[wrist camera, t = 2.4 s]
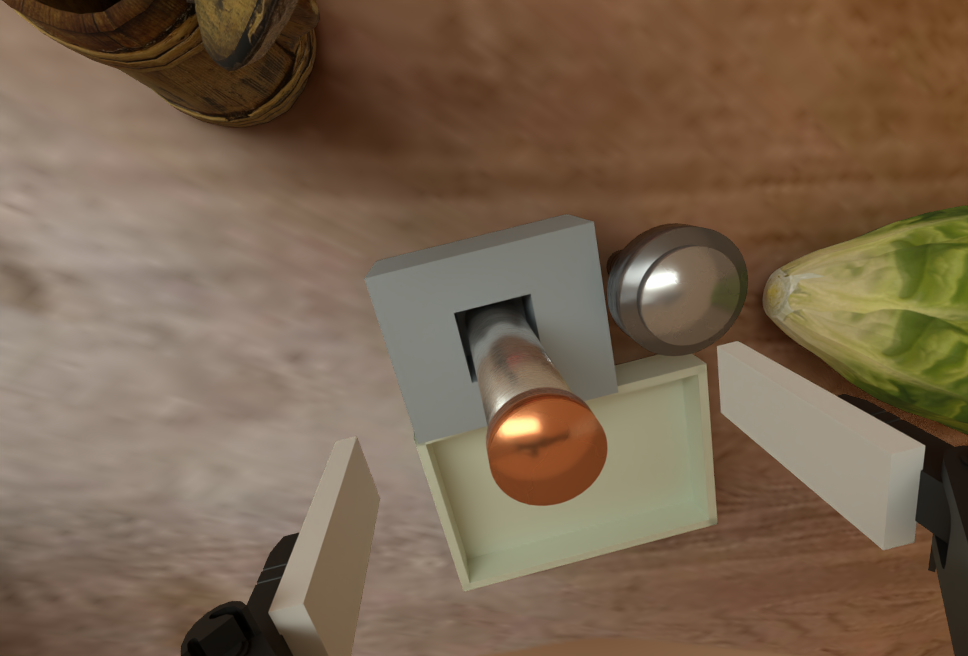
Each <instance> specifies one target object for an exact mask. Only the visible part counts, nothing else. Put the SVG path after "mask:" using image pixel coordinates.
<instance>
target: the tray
mask: <svg viewBox="0 0 968 656" xmlns="http://www.w3.org/2000/svg"><path fill="white" fill-rule="evenodd" d="M615 372H616V379H617V386H618V393H614V394H610V395H606V396H602V397H598V398H594V399H590V400H587V401H584V402H585V403H586V404H587V405H588V406H589V408H590V409H591V411H592V412H593V414H594V415H595V417H596V418H597V419H598V421H599V422H600V424H601V426H602V427H603V429H604V432H605V434H606V438H607V446H608V449H607V457H606V462H605V464H604V467H603V469H602V471H601V473H600V475H599V476H598V478H597V479H596V480H595V482H594V483H593V484H592V485H591V486H590V487H589V488H588V489H587V490H585V491H584V492H583V493H581V494H580V495H578V496H576V497H575V498H573V499H571V500H568V501H566V502H563V503H560V504H555V505H549V506H535V505H528V504H524V503H521V502H519V501H516V500H514V499H513V498H511V497H509V496H508V495H507V494H505V493H504V492H503V491H502V490H501V489H500V488H499V486H498V485H497V484H496V482H495V480H494V478H493V476H492V473H491V470H490V465H489V460H488V455H487V449H486V434H487V430H488V426H486V427H482V428H478V429H474V430H470V431H466V432H463V433H459V434H455V435H451V436H447V437H443V438H439V439H435V440H432V441H428V442H424V443H420V444H418V442H417V439H416V436H415V433H414V441H415V444H416V447H417V450H418V453H419V456H420V459H421V462H422V466H423V469H424V472H425V475H426V478H427V481H428V484H429V487H430V490H431V493H432V496H433V499H434V502H435V505H436V508H437V511H438V515H439V518H440V521H441V524H442V527H443V530H444V533H445V536H446V539H447V542H448V545H449V548H450V551H451V554H452V557H453V560H454V563H455V567H456V570H457V573H458V576H459V579H460V582H461V585H462V588H463V591H468V590H472V589H476V588H479V587H483V586H487V585H491V584H494V583H498V582H502V581H506V580H509V579H513V578H517V577H521V576H524V575H528V574H532V573H536V572H539V571H543V570H547V569H551V568H554V567H558V566H562V565H565V564H569V563H573V562H577V561H580V560H584V559H588V558H592V557H595V556H599V555H603V554H607V553H610V552H614V551H618V550H622V549H625V548H629V547H633V546H637V545H640V544H644V543H648V542H652V541H655V540H659V539H663V538H666V537H670V536H674V535H678V534H681V533H685V532H689V531H693V530H696V529H700V528H704V527H708V526H711V525H715V524H717V509H716V495H715V481H714V466H713V452H712V438H711V423H710V409H709V394H708V380H707V366H706V363H705V362H703V361H702V360H700V359H699V358H698V357H696V356H695V355H693V354H688V355H683V356H664V355H659V354H658V355H654V356H650V357H646V358H643V359H639V360H635V361H631V362H627V363H623V364H619V365H615Z"/></svg>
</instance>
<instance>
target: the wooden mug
mask: <svg viewBox="0 0 968 656" xmlns="http://www.w3.org/2000/svg"><path fill="white" fill-rule="evenodd" d="M3 1H4V2H5V3H6V4H7V5H9V6H10V7H11V8H13V9H14V10H15V12H16V13H17V14H19V15H20V16H21V17H22V18H24V19H25V20H26V21H28V22H29V23H30V24H31V25H33V26H34V27H35V28H37V29H38V30H39V31H40V32H42V33H43V34H45V35H46V36H48V37H50V38H51V39H53V40H55V41H57V42H58V43H60V44H62V45H63V46H65V47H67V48H69V49H71V50H73V51H75V52H77V53H79V54H81V55H83V56H85V57H87V58H89V59H91V60H94V61H96V62H99V63H102V64H105V65H108V66H111V67H114V68H117V69H119V70H121V71H123V72H124V73H126V74H128V75H129V76H131V77H133V78H134V79H136V80H138V81H139V82H141V83H143V84H144V85H146V86H148V87H149V88H151V89H152V90H153V91H154V92H155V93H157V94H158V95H159V96H160V97H161V98H163V99H164V100H165V101H166V102H167V103H169V104H170V105H171V106H173V107H175V108H176V109H178V110H179V111H181V112H183V113H186V114H188V115H190V116H192V117H195V118H197V119H199V120H201V121H204V122H209V123H213V124H218V125H223V126H229V127H247V126H252V125H257V124H261V123H266V122H269V121H271V120H272V119H274V118H276V117H278V116H279V115H281V114H283V113H284V112H286V111H288V110H289V109H290V108H291V106H292V105H293V103H294V102H295V101H296V99H297V98H298V97H299V95H300V94H301V93H302V91H303V90H304V88H305V85H306V83H307V80H308V78H309V76H310V73H311V71H312V68H313V64H314V60H315V57H316V36H315V31H314V27H316V26H317V24H318V22H319V20H320V16H319V10H318V6H317V3H316V0H3Z"/></svg>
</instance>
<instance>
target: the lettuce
mask: <svg viewBox="0 0 968 656" xmlns="http://www.w3.org/2000/svg"><path fill="white" fill-rule="evenodd" d="M762 301H763V309H764V311H765V313H766V315H767V316H768V317H769V318H770V319H771V320H772V321H773V322H774V323H775V324H776V325H777V326H778V327H779V328H780V329H781V330H782V331H783V332H784V333H786V334H787V335H788V336H789V337H790V338H792V339H793V340H794V341H796V342H797V343H798V344H800V345H801V346H803V347H804V348H806V349H807V350H809V351H811V352H812V353H814V354H815V355H817V356H818V357H820V358H821V359H822V360H824V361H825V362H826V363H827V364H828V365H829V366H831V367H832V368H833V369H834V370H835V371H837V372H838V373H839V374H840V375H842V376H843V377H844V378H845V379H847V380H848V381H849V382H851V383H852V384H854V385H855V386H857V387H859V388H860V389H862V390H863V391H865V392H867V393H868V394H870V395H871V396H873V397H875V398H876V399H878V400H880V401H883V402H885V403H887V404H889V405H892V406H894V407H896V408H899V409H901V410H903V411H906V412H909V413H912V414H915V415H918V416H921V417H924V418H927V419H930V420H933V421H936V422H939V423H941V424H943V425H946V426H948V427H950V428H953V429H955V430H957V431H960V432H962V433H964V434H967V435H968V206H959V207H954V208H949V209H944V210H939V211H934V212H929V213H925V214H922V215H918V216H915V217H911V218H908V219H905V220H901V221H898V222H894V223H891V224H889V225H886V226H884V227H881V228H878V229H876V230H873V231H871V232H868V233H866V234H864V235H861V236H859V237H857V238H854V239H852V240H849V241H846V242H843V243H840V244H837V245H833V246H830V247H827V248H824V249H821V250H818V251H815V252H812V253H809V254H807V255H805V256H802V257H800V258H798V259H796V260H794V261H792V262H790V263H788V264H786V265H784V266H783V267H781V268H779V269H777V270H776V271H775V272H773V273H772V274H771V276H770V277H769V279H768V281H767V282H766V285H765V288H764V291H763V299H762Z"/></svg>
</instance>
